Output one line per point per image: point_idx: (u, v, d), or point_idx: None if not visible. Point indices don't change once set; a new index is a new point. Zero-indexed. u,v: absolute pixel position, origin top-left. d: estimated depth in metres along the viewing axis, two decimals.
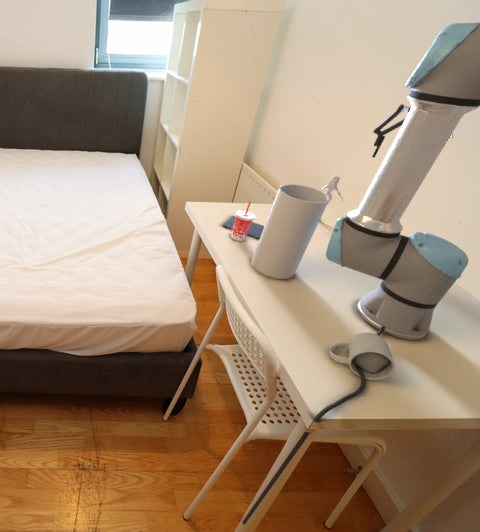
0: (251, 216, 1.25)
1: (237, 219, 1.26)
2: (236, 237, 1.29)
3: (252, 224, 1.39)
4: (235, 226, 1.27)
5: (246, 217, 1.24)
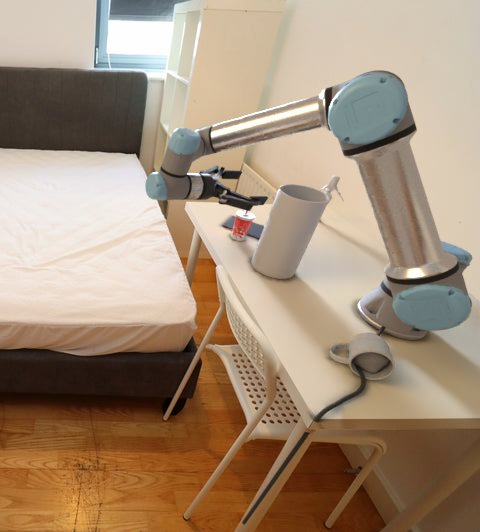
0: (251, 216, 1.25)
1: (237, 219, 1.26)
2: (236, 237, 1.29)
3: (252, 224, 1.39)
4: (235, 226, 1.27)
5: (246, 217, 1.24)
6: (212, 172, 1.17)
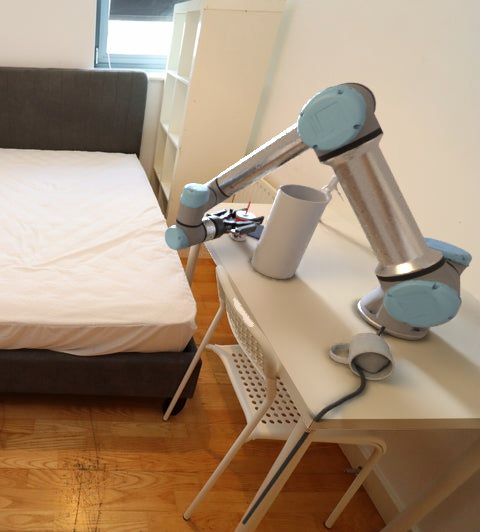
0: (251, 216, 1.25)
1: (237, 219, 1.26)
2: None
3: None
4: None
5: (246, 217, 1.24)
6: (220, 214, 1.27)
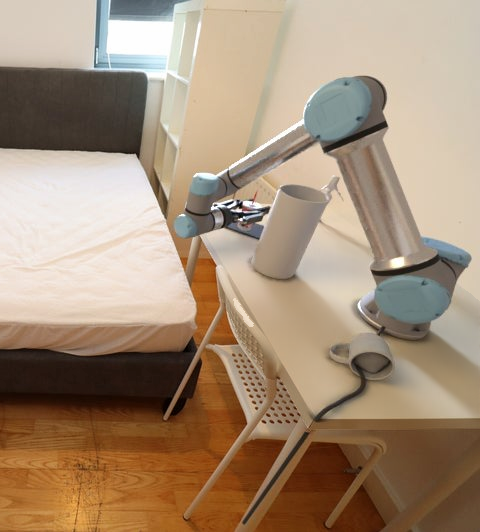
0: (258, 206, 1.28)
1: (243, 209, 1.29)
2: (242, 227, 1.31)
3: None
4: None
5: (253, 207, 1.27)
6: (227, 204, 1.30)
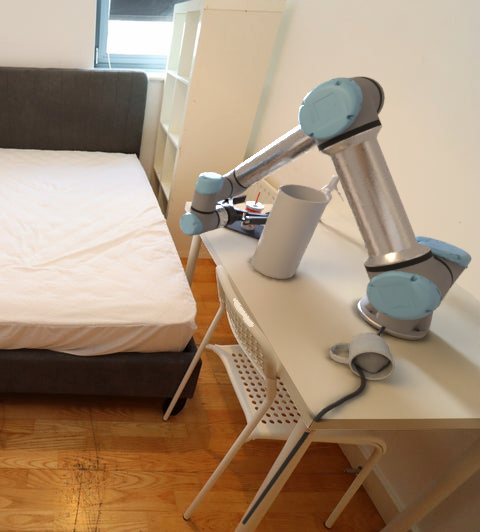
0: (260, 206, 1.32)
1: (247, 209, 1.33)
2: (246, 226, 1.35)
3: None
4: None
5: (256, 207, 1.31)
6: (224, 201, 1.34)
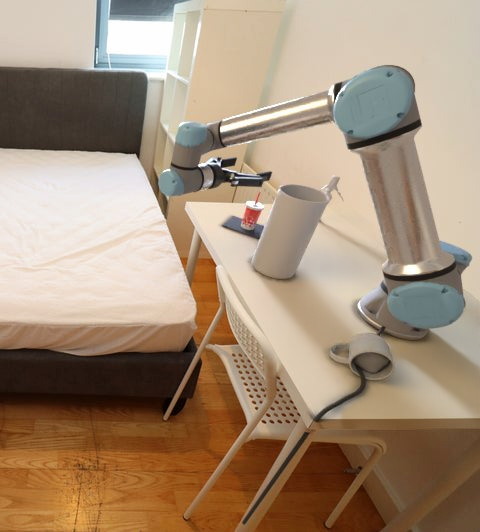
0: (260, 206, 1.32)
1: (247, 209, 1.33)
2: (246, 226, 1.35)
3: None
4: (245, 216, 1.34)
5: (256, 207, 1.31)
6: None
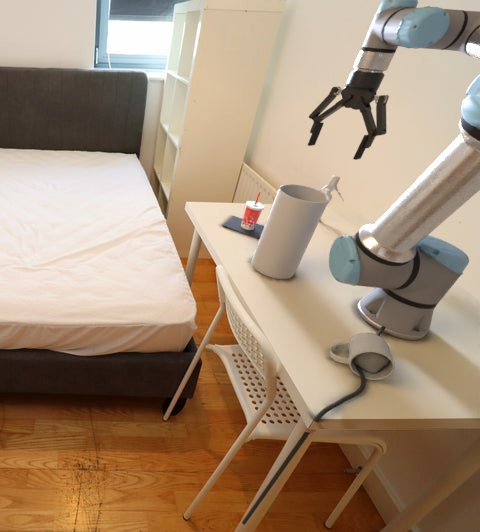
0: (260, 206, 1.32)
1: (247, 209, 1.33)
2: (246, 226, 1.35)
3: None
4: (245, 216, 1.34)
5: (256, 207, 1.31)
6: None
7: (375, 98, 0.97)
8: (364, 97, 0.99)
